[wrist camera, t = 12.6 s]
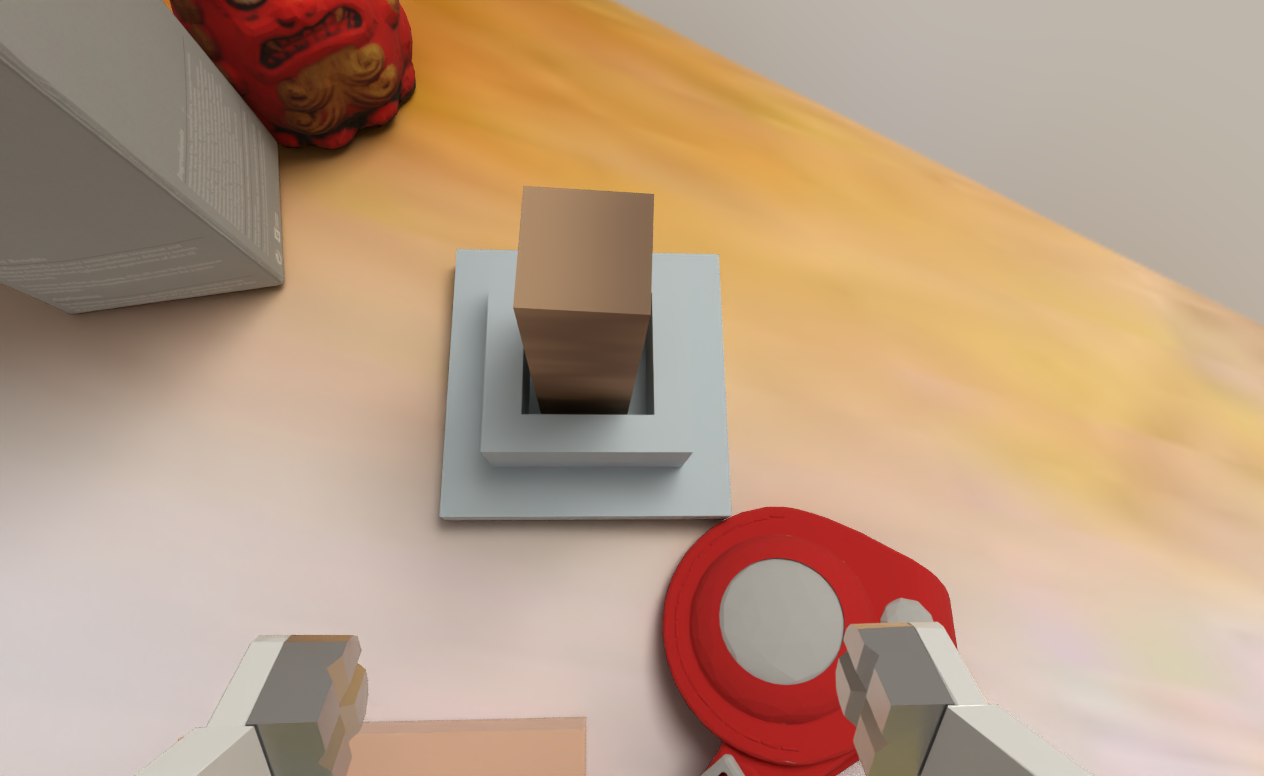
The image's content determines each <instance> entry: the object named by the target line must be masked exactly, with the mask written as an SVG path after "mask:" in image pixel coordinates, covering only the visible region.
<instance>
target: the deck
mask: <svg viewBox="0 0 1264 776" xmlns="http://www.w3.org/2000/svg"><path fill="white" fill-rule="evenodd" d="M184 737H185V736H184ZM182 738H183V737H181V738H179V739H178V741H179V740H181V739H182ZM349 746H350V750H351V754H352V759H351V762H350V766H349V769H348V772H347V775H346V776H586V717H570V718H527V719H483V720H439V721H396V722H363V724H362V727H361V730H360V731H359V732H358V733H357V734H356V735H355V736H354V737H353V738H352V739H351V740H350V741H349Z"/></svg>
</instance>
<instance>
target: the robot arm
mask: <svg viewBox="0 0 1264 776" xmlns="http://www.w3.org/2000/svg"><path fill="white" fill-rule="evenodd" d="M843 640H844V643H845V645H846V648H847V650H848V651H846V652H845V653H844V654H843V655H842V656H840V657H839V658H838V663H837V668H836V690H837V695H838V699H839V703H840V706H841V709H842V712H843V715H844V716H845V717H846V718H847V719H848V720H849V721H850V722H851V723H852V724H854V725H855V726H856V727H857V728H856V732H855V735H854V739H853V742H854V745H855V748H856V750H857V753H858V756H859V759H860V761H861V764H862V767H863V769H864V772H865V775H866V776H1095V775H1093V774H1092V773H1091V772H1089V771H1088V770H1086V769H1085V768H1084V767H1082V766H1081V765H1080V764H1078V763H1077V762H1076V761H1074V760H1073V759H1071V758H1070V757H1069V756H1067V755H1066V754H1065V753H1063V752H1062V751H1061V750H1059V749H1058V748H1057V747H1055V746H1054V745H1052V744H1051V743H1050V742H1048V741H1047V740H1046V739H1044V738H1043V737H1042V736H1040V735H1039V734H1037V733H1036V732H1035V731H1033V730H1032V729H1031V728H1029V727H1028V726H1027V725H1025V724H1024V723H1022V722H1021V721H1020V720H1018V719H1017V718H1016V717H1014V716H1013V715H1012V714H1010V713H1009V712H1008V711H1006V710H1005V709H1003V708H1002V707H1001V706H999V705H998V704H989V703H988V702H987V700H986V698H985V697H984V695H983V693H982V692H981V690H980V688H979V686H978V685H977V683H976V681H975V680H974V678H973V676H972V674H971V673H970V671H969V669H968V668H967V666H966V664H965V663H964V661H963V659H962V657H961V656H960V654H959V652H958V651H957V649H956V647H955V646H954V644H953V642H952V640H951V639H950V637H949V635H948V634H947V632H946V630H945V628H944V627H943V626H942V625H941V624H940V623H938V622H909V623H905V622H896V623H867V624H850V625H849V626H848V628H847V629H846V632H845V635H844V639H843ZM360 653H361V647H360V643H359V640H358V636H354V635H259V636H258V637H257V638H256V639H255V640H254V641H253V642H252V643H251V644H250V645H249V647H248V649H247V651H246V653H245V655H244V656H243V658H242V660H241V662H240V664H239V666H238V668H237V670H236V672H235V673H234V675H233V677H232V679H231V681H230V683H229V685H228V687H227V688H226V690H225V692H224V694H223V696H222V698H221V700H220V702H219V703H218V705H217V707H216V709H215V711H214V713H213V715H212V717H211V719H210V720H209V722H208V724H207V726H206V727H199V728H195V729H194V730H192V731H191V732H190V733H188V734H187V735H186V736H185V737H183V738H182V739H181V740H179V741H178V742H177V743H176V744H174V745H173V746H172V747H170V748H169V749H168V750H167V751H165V752H164V753H163V754H162V755H160V756H159V757H158V758H156V759H155V760H154V761H153V762H151V763H150V764H149V765H147V766H146V767H145V768H144V769H142V770H141V771H140V772H138V773H137V774H136V775H135V776H346V775H347V772H348V769H349V766H350V762H351V759H352V754H351V750H350V746H349V741H350V740H351V739H352V738H353V737H354V736H355V735H356V734H357V733H358V732H359V731H360V730H361V727H362V724H363V720H364V717H365V713H366V707H367V699H368V679H367V674H366V669H364V668H363V667H362V666H361V665H359V664H358V663H357V662H358V659H359V656H360Z"/></svg>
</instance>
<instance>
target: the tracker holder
mask: <svg viewBox="0 0 1264 776" xmlns="http://www.w3.org/2000/svg"><path fill="white" fill-rule="evenodd" d="M896 622H905V623H909V622H938V623H940V624H941V625H942V626H943V627H944V628H945V630H946V632H947V634H948V635H949V637H950V639H951V640H952V642H953V644H954V646H955V647H956V649H957V643H956V637H955V630H954V623H953V617H952V610H951V603H950V598H949V594H948V592H947V590H946V588H945V587H944V585H943V584H942V583H941V582H940V580H939V579H938V578H937V577H936V576H935V575H934V574H933V573H932V572H930V571H929V570H928V569H926V568H925V567H923V566H922V565H920V564H919V563H917V562H915V561H914V560H912V559H910V558H909V557H907V556H905V555H903V554H901V553H899V552H897V551H895V550H893V549H891V548H889V547H887V546H885V545H883V544H881V543H880V542H878V541H876V540H874V539H872V538H870V537H868V536H866V535H864V534H863V533H861V532H858V531H856V530H854V529H851V528H849V527H847V526H844V525H842V524H840V523H837V522H835V521H833V520H830V519H828V518H825V517H822V516H819V515H816V514H813V513H809V512H806V511H802V510H799V509H794V508H788V507H764V508H760V509H755V510H751V511H746V512H742V513H740V514H737V515H735V516H732V517H730V518H728V519H726V520H724V521H722V522H721V523H719V524H717V525H715V526H714V527H712V528H711V529H710V530H709V531H708V532H706V533H705V534H704V535H703V536H702V537H700V538H699V539H698V540H697V541H696V543H695V544H694V545H693V546H692V547H691V548H690V549H689V550H688V551H687V553H686V554H685V556H684V557H683V559H682V560H681V562H680V564H679V565H678V567H677V569H676V571H675V573H674V575H673V577H672V580H671V582H670V585H669V588H668V591H667V595H666V599H665V604H664V613H663V639H664V645H665V652H666V658H667V661H668V665H669V668H670V671H671V674H672V677H673V679H674V681H675V683H676V686H677V688H678V689H679V691H680V693H681V694H682V696H683V698H684V700H685V701H686V703H687V705H688V706H689V708H690V709H691V710H692V711H693V712H694V714H695V715H696V716H697V717H698V718H699V719H700V721H701V722H702V723H703V724H704V725H705V726H706V727H707V728H708V729H709V730H710V731H711V732H712V733H713V734H715V735H716V736H717V737H719V738H720V739H721V740H723V741H722V744H721V747H720V748H719V750H718V752H717V753H716V755H715V756H714V758H713V759H712V761H711V763H710V764H709V766H708V767H707V769H706V770H705V772H704V773H703V774H701V775H700V776H836V775H838V774H839V773H841V772H842V771H844V770H845V769H847V768H848V767H850V766H851V765H853V764H854V763H856V762H857V761H859V760H860V759H859V756H858V753H857V750H856V748H855V745H854V742H853V739H854V735H855V732H856V728H857V727H856V726H855V725H854V724H852V723H851V722H850V721H849V720H848V719H847V718H846V717H845V716H844V715H843V712H842V709H841V706H840V703H839V699H838V695H837V690H836V668H837V663H838V658H839V657H840V656H842V655H843V654H844V653H845V652H846V651H848V650H847V648H846V645H845V643H844V640H843V639H844V635H845V632H846V629H847V628H848V626H849V625H850V624H867V623H896ZM957 651H958V650H957Z"/></svg>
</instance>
